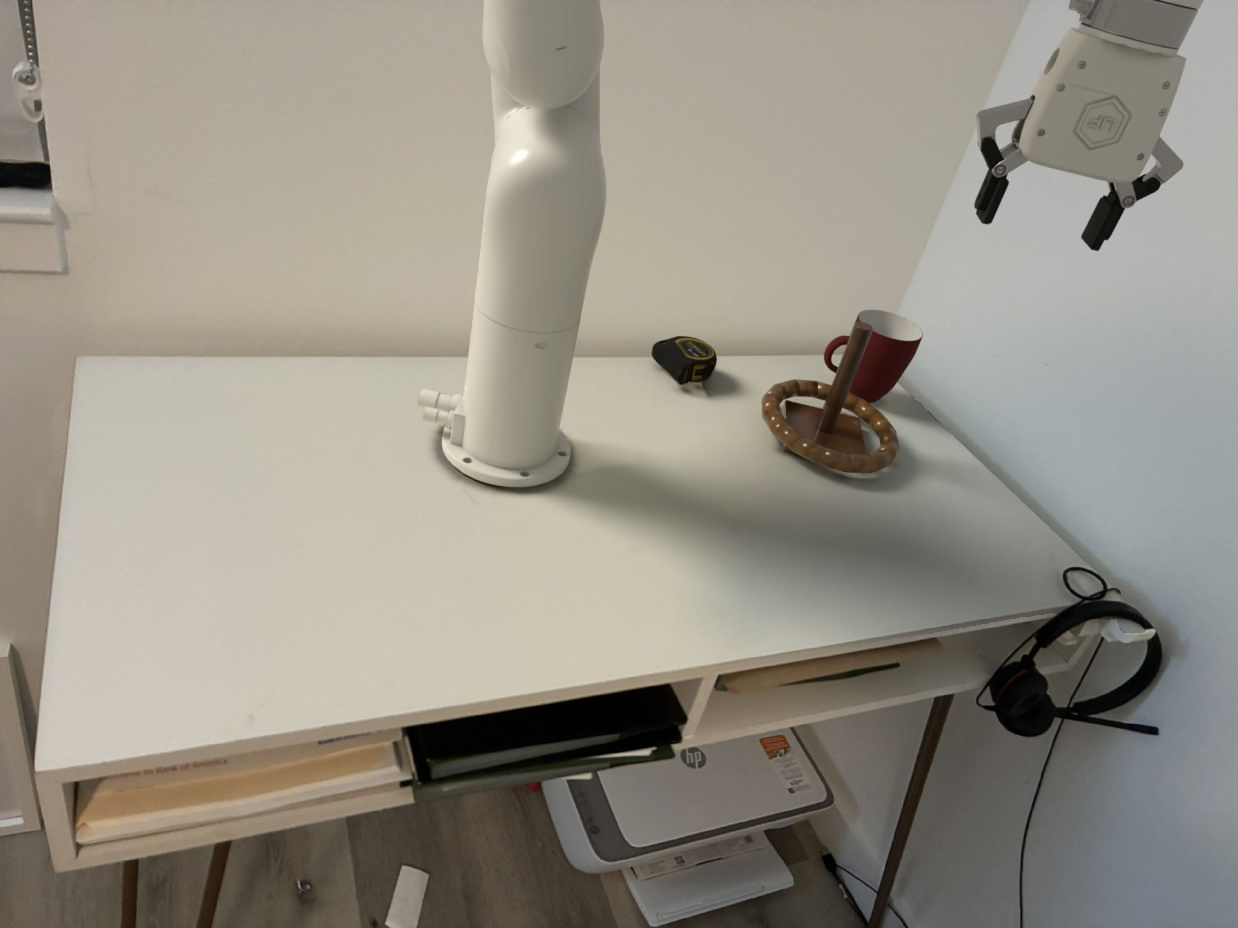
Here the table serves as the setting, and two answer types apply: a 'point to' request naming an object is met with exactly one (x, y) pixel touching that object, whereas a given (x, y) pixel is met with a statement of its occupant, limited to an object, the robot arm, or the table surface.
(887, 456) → the ring
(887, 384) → the mug
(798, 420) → the post
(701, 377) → the tape measure
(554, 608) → the table surface
